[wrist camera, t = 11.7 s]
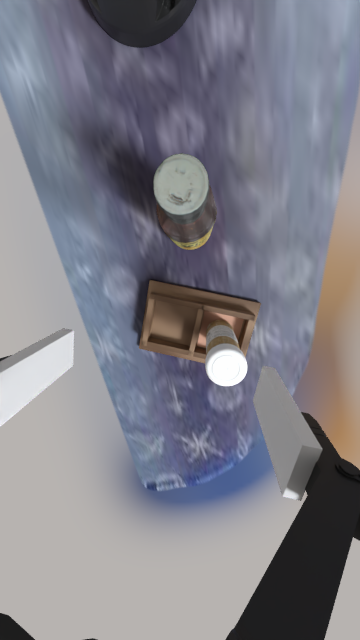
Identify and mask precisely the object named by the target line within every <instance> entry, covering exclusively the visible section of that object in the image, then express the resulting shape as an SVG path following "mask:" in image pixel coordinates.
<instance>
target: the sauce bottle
mask: <svg viewBox="0 0 360 640" xmlns="http://www.w3.org/2000/svg"><path fill="white" fill-rule="evenodd" d="M153 190H154V196H155V198H156V201H157V215H158V218H159V222H160V224H161V226H162V228H163V230H164V232H165V233H166V234H167V236H168V237H169V238H170V239H171V240H172V241H173V242H174V243H175V244H176V245H178V246H179V247H181V248H183V249H187V250H193V249H197V248H199V247H201V246H202V245H203V244H205V242H206V241H207V240H208V238H209V237H210V234H211V231H212V228H213V226H214V223H215V219H216V214H217V211H216V204H215V201H214V197H213V194H212V190H211V187H210V185H209V179H208V174H207V171H206V169H205V167H204V165H203V164H202V163H201V162H200V161H199V160H198V159H197V158H195V157H193V156H191V155H188V154H182V153H181V154H175V155H172V156H170V157H168V158H166V159H165V160H164V161H163V162H162V163H161V165H160V166H159V167H158V169H157V170H156V173H155V175H154V180H153Z"/></svg>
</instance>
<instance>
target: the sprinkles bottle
mask: <svg viewBox="0 0 360 640" xmlns="http://www.w3.org/2000/svg"><path fill="white" fill-rule="evenodd" d="M206 354H207V356H206V360H205V366H206V372H207V375H208V377H209V378H210V379H211V380H212V381H213V382H214V383H216V384H218V385H221V386H232V385H235V384H237V383H239V382H240V381H241V380H242V379H243V378H244V377H245V375H246V372H247V362H246V359H245V356H244V354H243V352H242V351H241V350H240V348H239V345H238V341H237V338H236V336H235V334H234V331H233V328H232V326H231V325H230V324H229V323H228V322H227V321H224V320H215V321H213V322H211V323H210V324H209V325H208V327H207V329H206Z"/></svg>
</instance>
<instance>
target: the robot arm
mask: <svg viewBox="0 0 360 640" xmlns="http://www.w3.org/2000/svg"><path fill="white" fill-rule="evenodd" d="M87 1H88V3H89V5H90V7H91V10H92V12H93V14H94V16H95V18H96V19H97V21H98V22H99V24H100V25H101V27H102V28H103V29H104V30H105V31H106V32H107V33H108V34H109V35H110V36H111V37H112V38H114V39H115V40H117V41H119V42H120V43H123V44H125V45H128V46H132V47H149V46H153V45H156V44H159V43H161V42H163V41H164V40H166V39H168V38H169V37H170V36H172V35H173V34H174V33H175V32H176V31H177V30H178V29H179V28H180V27H181V26H182V25H183V23H184V22H185V21H186V19H187V18H188V16H189V15H190V13H191V11H192V9H193V7H194V5H195V3H196V0H87ZM73 348H74V330H69V329H61V330H59V331H57V332H56V333H54V334H52V335H50V336H48V337H46V338H44V339H42V340H40V341H38V342H36V343H35V344H33V345H31V346H29V347H27V348H25V349H23V350H21V351H19V352H18V353H16V354H14V355H10V356H7V357H4V358H0V426H1V425H3V424H4V423H5V422H6V421H8V420H9V419H10V418H11V417H12V416H13V415H15V414H16V413H17V412H18V411H19V410H21V409H22V408H23V407H24V406H25V405H27V404H28V403H29V402H30V401H31V400H33V399H34V398H35V397H36V396H37V395H38V394H40V393H41V392H42V391H43V390H45V389H46V388H47V387H48V386H49V385H50V384H52V383H53V382H54V381H55V380H56V379H58V378H59V377H60V376H61V375H62V374H64V373H65V372H66V371H67V370H68V369H69V368H71V367H72V366H73V350H74V349H73ZM253 403H254V406H255V409H256V413H257V416H258V419H259V422H260V425H261V429H262V432H263V435H264V438H265V441H266V444H267V448H268V451H269V454H270V457H271V461H272V464H273V467H274V470H275V474H276V477H277V480H278V483H279V486H280V489H281V493H282V496H283V497H287V498H291V499H296V500H300V501H301V499H302V497H303V495H304V492H305V490H306V492H307V495H308V496H307V498H306V500H305V501H304V503H303V505H302V507H301V509H300V511H299V512H298V514H297V516H296V518H295V520H294V521H293V523H292V525H291V527H290V529H289V530H288V532H287V534H286V536H285V538H284V540H283V541H282V543H281V545H280V547H279V549H278V550H277V552H276V554H275V556H274V558H273V560H272V561H271V563H270V565H269V567H268V568H267V570H266V572H265V574H264V576H263V577H262V579H261V581H260V583H259V585H258V587H257V588H256V590H255V592H254V594H253V596H252V597H251V599H250V601H249V603H248V605H247V607H246V608H245V610H244V612H243V614H242V615H241V617H240V619H239V621H238V623H237V624H236V626H235V628H234V629H232V630H231V632H230V633H229V635H228V636H227V638H226V640H324V638H325V635H326V631H327V627H328V624H329V620H330V617H331V613H332V610H333V606H334V603H335V599H336V596H337V592H338V588H339V585H340V581H341V578H342V574H343V570H344V567H345V563H346V559H347V555H348V552H349V549H350V545H351V542H352V538H353V537H354V538H356V539H358V540H360V470H359V469H358V468H357V467H356V466H354V465H353V464H352V463H350V462H348V461H346V460H344V459H342V458H341V457H340V456H339V454H338V453H337V451H336V449H335V448H334V447H333V445H332V443H331V442H330V440H329V439H328V437H326V434H325V433H324V431H323V430H322V428H321V427H320V425H319V424H318V422H317V421H316V420H315V419H314V418H313V417H312V416H311V415H310V414H308V413H303V412H300V410H299V408H298V407H297V405H296V403H295V402H294V400H293V398H292V397H291V395H290V393H289V392H288V390H287V388H286V386H285V385H284V383H283V381H282V380H281V378H280V376H279V375H278V373H277V371H276V369H275V368H272V367H266V366H263V368H262V371H261V375H260V378H259V381H258V385H257V388H256V392H255V395H254V399H253ZM0 640H35V639H34V638H33V637H31V636H30V635H29V634H28V633H27V632H26V631H25V630H24V629H23V628H22V627H21V626H20V625H18V624H17V623H16V622H15V621H14V620H13V619H12V618H11V617H10V616H8V615H5V614H2V613H0ZM85 640H96V639H85Z"/></svg>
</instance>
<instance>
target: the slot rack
mask: <svg viewBox="0 0 360 640" xmlns="http://www.w3.org/2000/svg"><path fill="white" fill-rule="evenodd" d="M260 305H261V303H259V302H254V301H250V300H245V299H240V298H235V297H230V296H226V295H221V294H216V293H211V292H206V291H202V290H197V289H192V288H187V287H182V286H178V285H173V284H168V283H163V282H158V281H154V280H150V281H149V288H148V294H147V301H146V307H145V313H144V320H143V326H142V333H141V339H140V345H139V349H144V350H148V351H153V352H157V353H162V354H166V355H171V356H175V357H179V358H184V359H188V360H193V361H197V362H202V363H205V360H206V356H207V354H206V329H207V327H208V325H209V324H210V323H211V322H213V321H215V320H224V321H227V322H228V323H229V324H230V325H231V326H232V328H233V331H234V334H235V336H236V338H237V341H238V345H239V348H240V350H241V351H242V352H243V354H244V356H246V353H247V349H248V346H249V343H250V339H251V336H252V332H253V329H254V325H255V322H256V319H257V315H258V312H259V308H260Z"/></svg>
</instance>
